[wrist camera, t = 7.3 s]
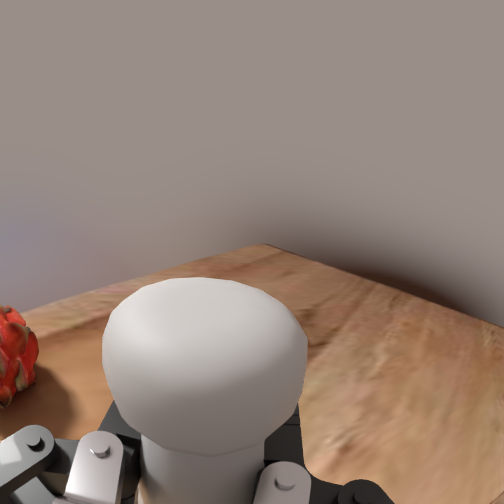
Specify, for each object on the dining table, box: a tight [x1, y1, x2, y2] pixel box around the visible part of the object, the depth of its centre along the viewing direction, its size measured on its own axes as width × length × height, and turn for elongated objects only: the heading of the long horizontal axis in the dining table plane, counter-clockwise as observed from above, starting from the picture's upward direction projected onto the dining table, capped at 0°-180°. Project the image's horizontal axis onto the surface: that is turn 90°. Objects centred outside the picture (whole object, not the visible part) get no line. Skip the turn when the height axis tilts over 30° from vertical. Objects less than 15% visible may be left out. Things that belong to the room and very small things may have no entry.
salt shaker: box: [102, 277, 308, 504], centre depth 8 cm, size 6×6×13 cm
